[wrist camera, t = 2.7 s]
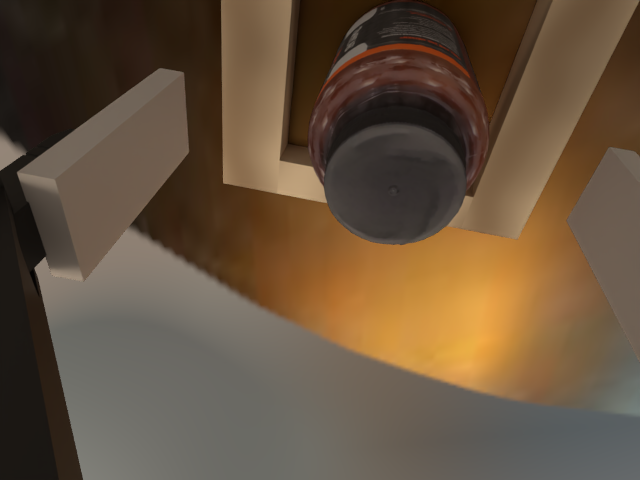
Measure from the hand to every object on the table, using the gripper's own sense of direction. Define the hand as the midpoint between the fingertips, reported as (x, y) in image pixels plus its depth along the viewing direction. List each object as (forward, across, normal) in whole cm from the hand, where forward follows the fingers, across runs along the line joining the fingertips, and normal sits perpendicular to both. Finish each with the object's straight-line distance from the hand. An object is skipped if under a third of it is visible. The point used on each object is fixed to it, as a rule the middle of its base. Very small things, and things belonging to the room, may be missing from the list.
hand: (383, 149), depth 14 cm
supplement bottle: (+9, 0, 0) cm, 9 cm away
